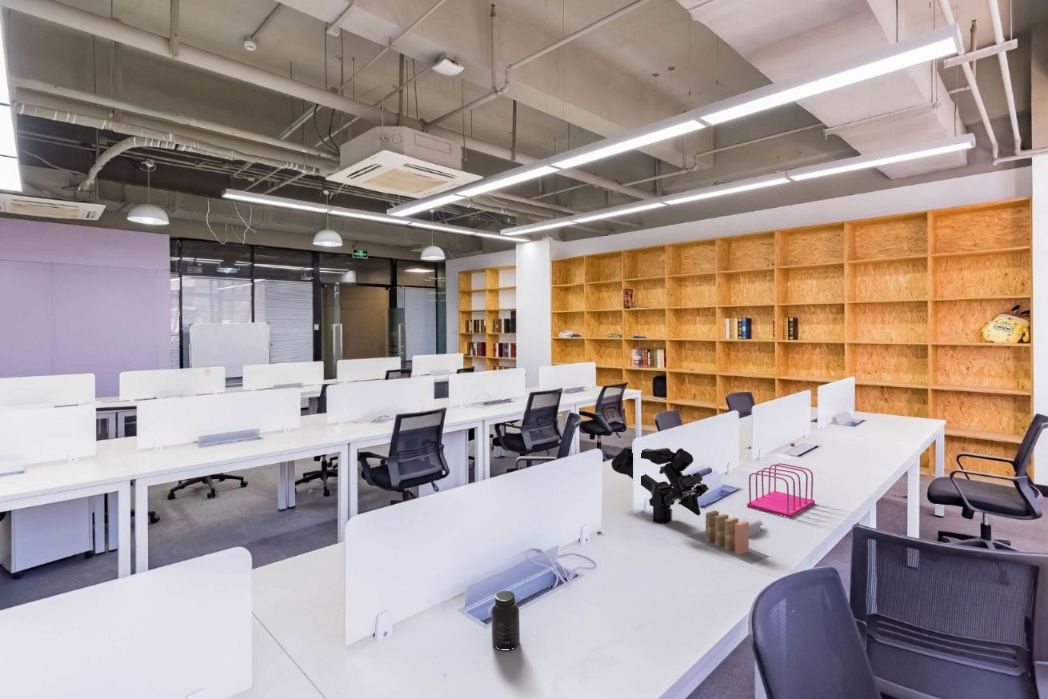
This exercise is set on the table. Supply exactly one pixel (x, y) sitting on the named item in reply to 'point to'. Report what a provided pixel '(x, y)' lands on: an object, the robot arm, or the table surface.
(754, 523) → the charger
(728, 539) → the domino
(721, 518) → the domino
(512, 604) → the supplement bottle
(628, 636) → the table surface
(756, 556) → the domino mat
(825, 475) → the table surface
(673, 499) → the robot arm
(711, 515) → the domino
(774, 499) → the file sorter
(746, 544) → the domino
